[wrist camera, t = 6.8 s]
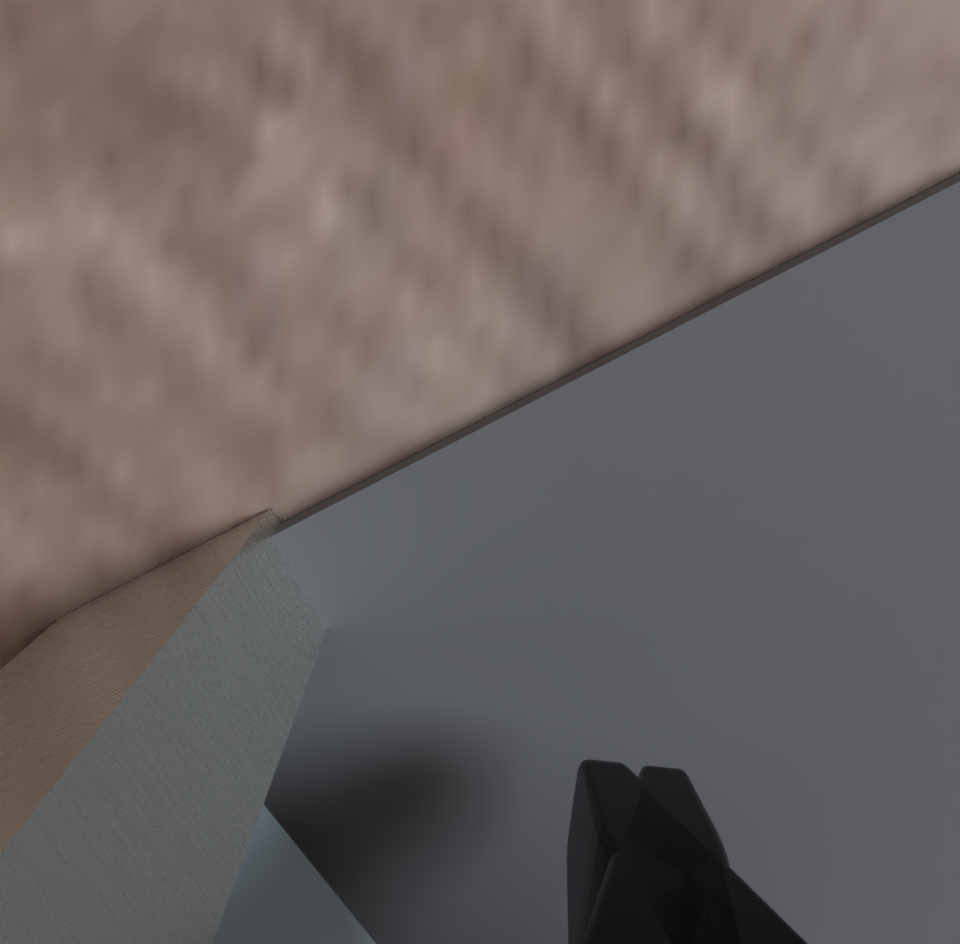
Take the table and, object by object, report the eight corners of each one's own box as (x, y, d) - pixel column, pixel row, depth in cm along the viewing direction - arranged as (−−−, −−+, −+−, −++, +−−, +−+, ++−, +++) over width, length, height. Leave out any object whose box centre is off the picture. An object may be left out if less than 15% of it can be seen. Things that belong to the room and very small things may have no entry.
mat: (1325, 1061, 12) (1362, 1094, 12) (529, 1395, 13) (532, 1439, 13) (992, 155, 9) (1021, 149, 9) (24, 655, 10) (2, 674, 10)
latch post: (357, 619, 10) (111, 1472, 3) (119, 739, 11) (-653, 1805, 3) (278, 484, 10) (-224, 1080, 3) (34, 611, 10) (-1055, 1483, 3)
